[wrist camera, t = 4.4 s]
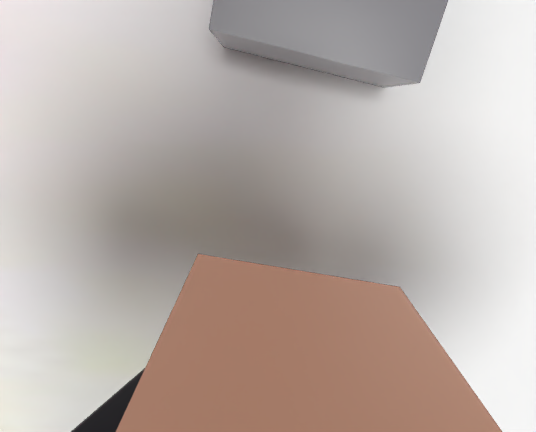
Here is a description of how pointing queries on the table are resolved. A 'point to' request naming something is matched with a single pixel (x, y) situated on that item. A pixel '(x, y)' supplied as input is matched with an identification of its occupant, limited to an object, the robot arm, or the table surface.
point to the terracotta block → (297, 359)
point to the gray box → (335, 35)
